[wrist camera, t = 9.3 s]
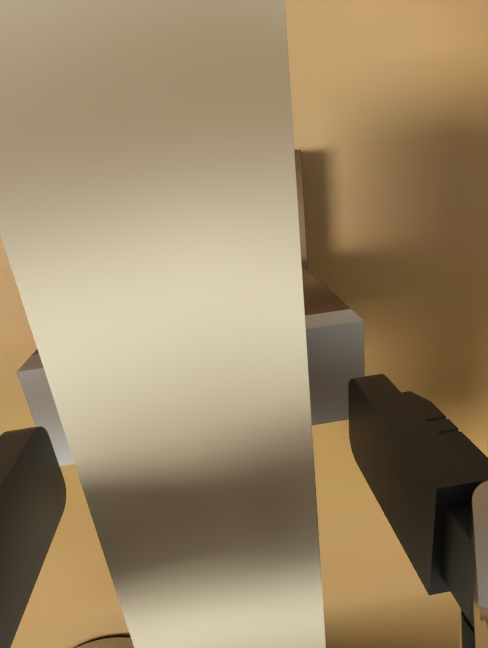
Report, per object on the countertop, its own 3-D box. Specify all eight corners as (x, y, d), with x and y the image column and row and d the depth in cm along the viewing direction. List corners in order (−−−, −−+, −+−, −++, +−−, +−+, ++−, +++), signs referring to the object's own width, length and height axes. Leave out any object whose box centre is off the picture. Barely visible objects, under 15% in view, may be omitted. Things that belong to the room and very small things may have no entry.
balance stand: (308, 387, 22) (380, 529, 14) (124, 416, 22) (74, 584, 13) (292, 151, 18) (383, 132, 9) (62, 178, 18) (-74, 187, 9)
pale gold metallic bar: (44, 65, 8) (-84, -24, 4) (243, 44, 8) (281, -56, 5) (180, 610, 14) (174, 771, 10) (295, 588, 14) (331, 737, 10)
